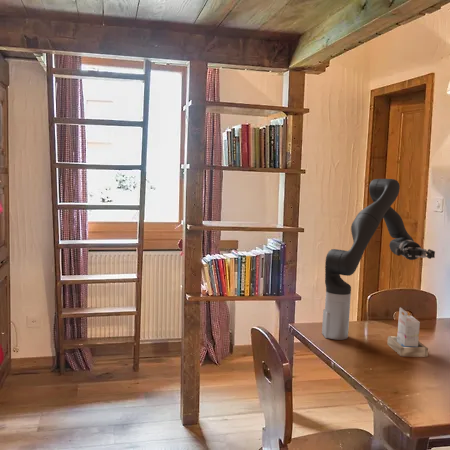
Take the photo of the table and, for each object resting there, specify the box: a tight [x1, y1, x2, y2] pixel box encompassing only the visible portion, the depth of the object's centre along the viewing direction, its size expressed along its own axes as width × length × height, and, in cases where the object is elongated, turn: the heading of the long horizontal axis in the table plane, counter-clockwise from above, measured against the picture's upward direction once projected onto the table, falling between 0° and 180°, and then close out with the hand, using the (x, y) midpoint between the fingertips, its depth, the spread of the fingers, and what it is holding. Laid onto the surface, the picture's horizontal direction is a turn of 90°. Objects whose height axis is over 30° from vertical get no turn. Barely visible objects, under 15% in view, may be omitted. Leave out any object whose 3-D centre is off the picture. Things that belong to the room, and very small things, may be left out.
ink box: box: [396, 307, 421, 347], centre depth 179 cm, size 8×5×15 cm, turn 0°
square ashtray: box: [386, 335, 429, 358], centre depth 180 cm, size 10×12×3 cm
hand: (418, 255), depth 195 cm, fingers open, 8 cm apart
